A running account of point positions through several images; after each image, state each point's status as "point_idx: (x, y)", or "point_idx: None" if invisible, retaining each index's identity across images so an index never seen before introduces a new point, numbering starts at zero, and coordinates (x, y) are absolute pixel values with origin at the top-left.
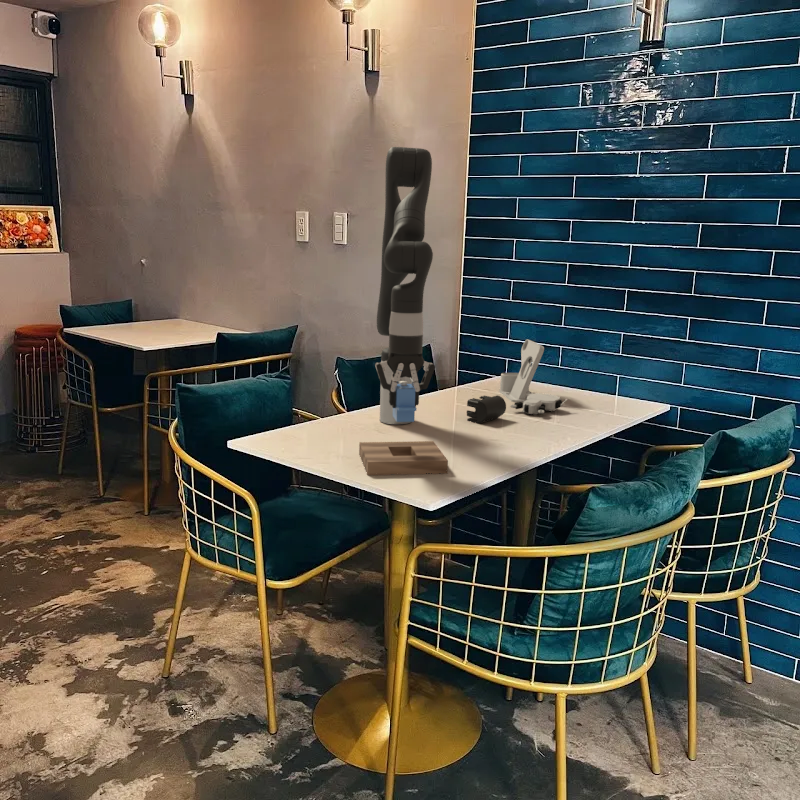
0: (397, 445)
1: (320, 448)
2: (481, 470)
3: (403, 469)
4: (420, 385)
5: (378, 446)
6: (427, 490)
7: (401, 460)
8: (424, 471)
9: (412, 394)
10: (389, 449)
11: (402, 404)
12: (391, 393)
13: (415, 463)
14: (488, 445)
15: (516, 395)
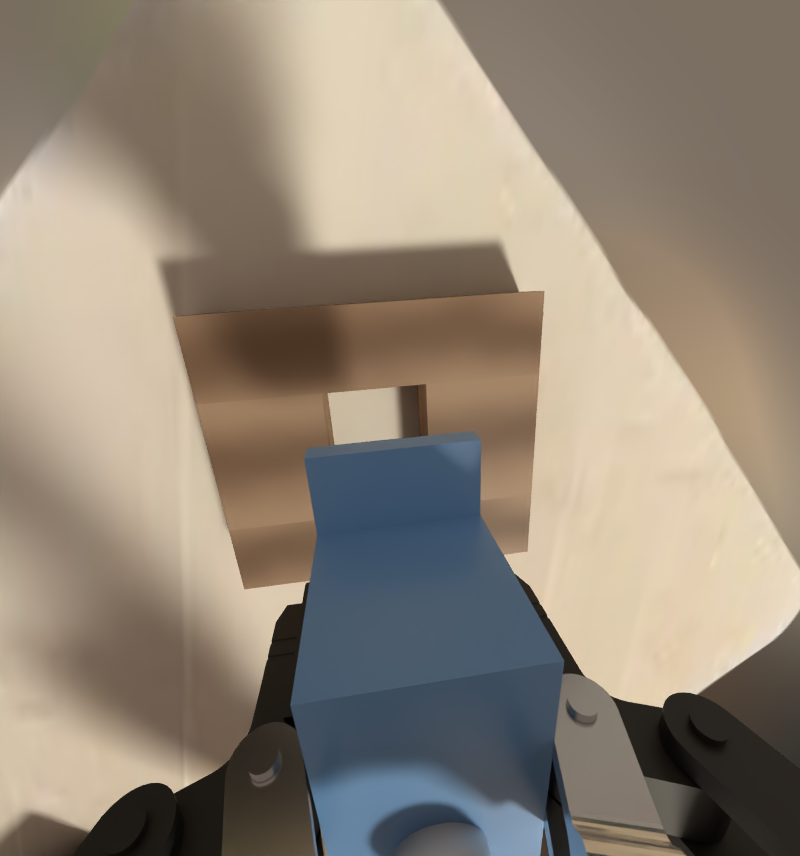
0: None
1: (612, 572)
2: (45, 358)
3: (384, 301)
4: (202, 853)
5: None
6: (291, 50)
7: (396, 314)
8: (295, 307)
9: (338, 625)
10: None
11: (437, 530)
12: (564, 667)
13: (332, 305)
14: (47, 654)
15: None
